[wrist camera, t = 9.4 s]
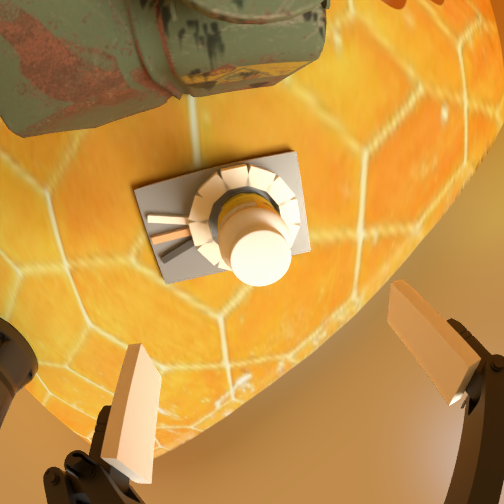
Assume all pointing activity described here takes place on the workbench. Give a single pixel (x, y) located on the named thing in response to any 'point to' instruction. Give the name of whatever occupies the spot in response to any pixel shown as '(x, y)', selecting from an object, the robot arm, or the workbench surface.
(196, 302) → the workbench surface
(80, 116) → the fuel can
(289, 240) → the pill bottle
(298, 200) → the junction plate
